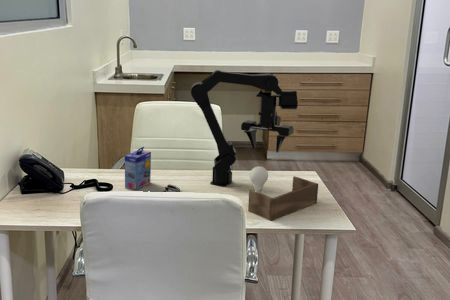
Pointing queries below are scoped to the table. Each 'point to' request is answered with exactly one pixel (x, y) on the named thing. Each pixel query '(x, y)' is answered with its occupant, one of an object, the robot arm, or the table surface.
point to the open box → (284, 200)
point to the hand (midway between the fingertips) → (265, 150)
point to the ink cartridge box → (137, 169)
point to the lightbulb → (258, 178)
